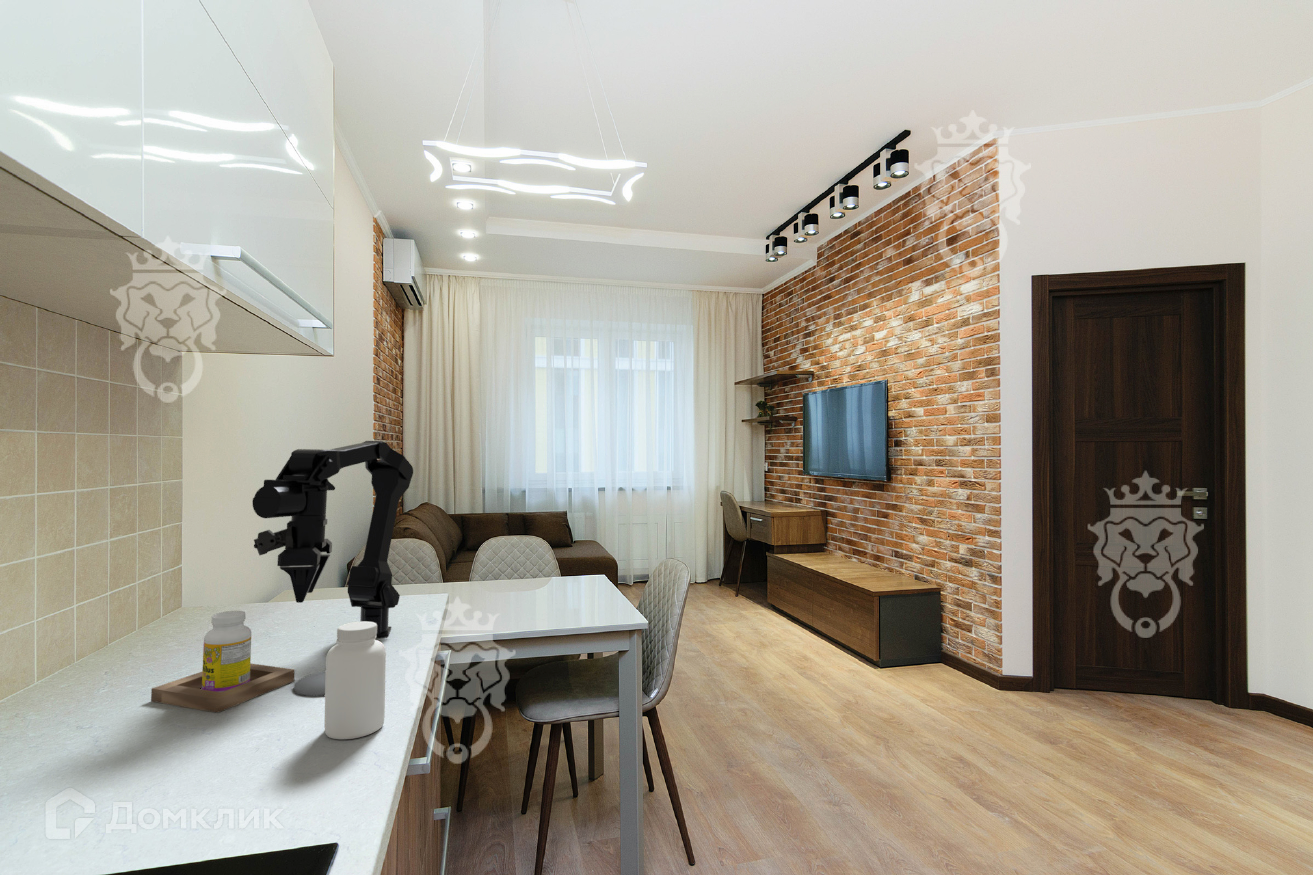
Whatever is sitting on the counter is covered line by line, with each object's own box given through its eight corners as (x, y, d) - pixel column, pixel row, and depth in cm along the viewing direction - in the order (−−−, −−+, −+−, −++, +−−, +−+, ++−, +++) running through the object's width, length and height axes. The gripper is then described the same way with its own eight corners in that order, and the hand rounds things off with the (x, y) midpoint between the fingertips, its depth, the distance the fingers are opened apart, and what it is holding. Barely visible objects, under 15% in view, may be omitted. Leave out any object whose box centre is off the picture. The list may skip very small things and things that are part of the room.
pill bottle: (354, 713, 95) (357, 616, 95) (396, 722, 92) (399, 621, 93) (310, 735, 88) (313, 629, 88) (354, 745, 85) (357, 635, 85)
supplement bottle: (198, 690, 103) (201, 613, 104) (244, 680, 108) (247, 606, 108) (205, 701, 99) (208, 621, 99) (253, 691, 103) (256, 614, 104)
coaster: (302, 675, 111) (303, 672, 111) (369, 670, 114) (369, 667, 114) (285, 699, 100) (285, 695, 100) (359, 692, 103) (359, 688, 103)
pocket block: (232, 671, 112) (233, 660, 112) (294, 680, 108) (294, 669, 108) (150, 701, 98) (151, 688, 99) (217, 712, 95) (218, 699, 95)
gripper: (272, 511, 123) (267, 589, 123) (246, 518, 106) (240, 610, 105) (334, 511, 127) (330, 587, 126) (318, 518, 110) (314, 607, 109)
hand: (304, 597), depth 117 cm, fingers open, 9 cm apart
